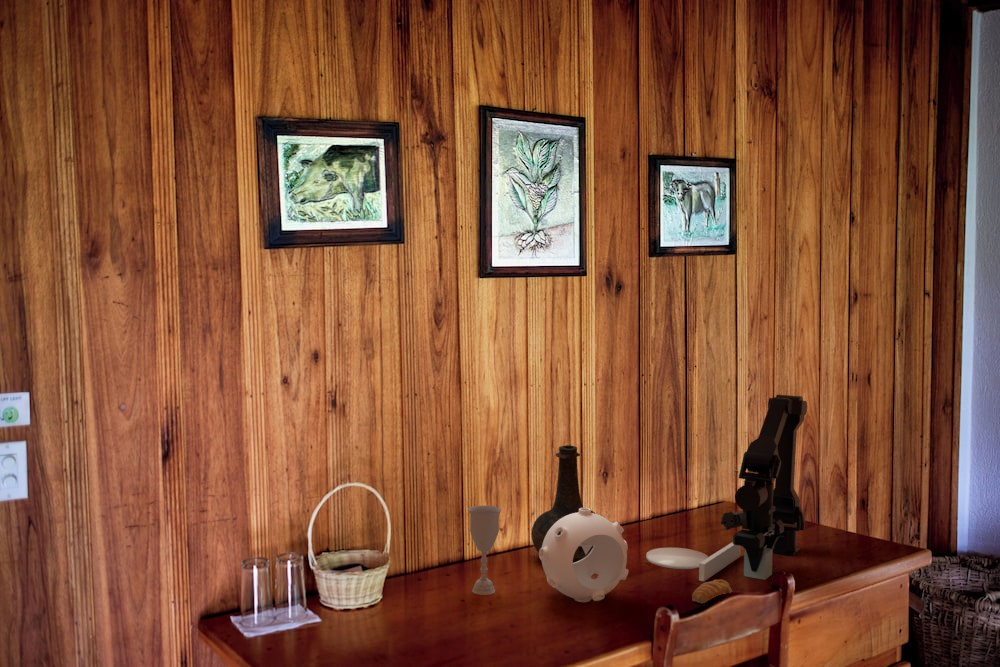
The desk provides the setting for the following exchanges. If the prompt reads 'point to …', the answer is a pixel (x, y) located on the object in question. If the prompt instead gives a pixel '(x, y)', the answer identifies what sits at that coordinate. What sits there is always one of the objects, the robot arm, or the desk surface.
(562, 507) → the glass bottle
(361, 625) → the desk surface
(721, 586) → the pastry
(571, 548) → the decorative ball
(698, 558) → the plate
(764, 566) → the block
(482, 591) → the chalice
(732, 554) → the panel
